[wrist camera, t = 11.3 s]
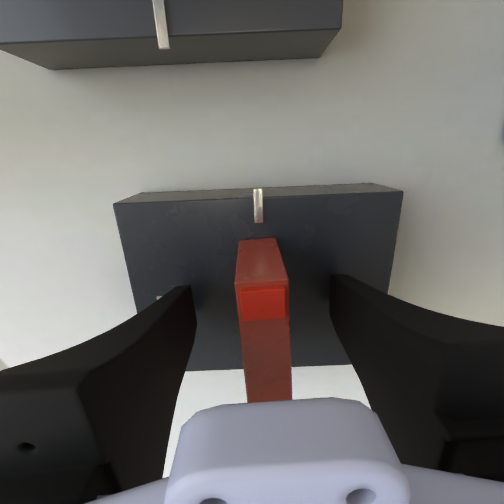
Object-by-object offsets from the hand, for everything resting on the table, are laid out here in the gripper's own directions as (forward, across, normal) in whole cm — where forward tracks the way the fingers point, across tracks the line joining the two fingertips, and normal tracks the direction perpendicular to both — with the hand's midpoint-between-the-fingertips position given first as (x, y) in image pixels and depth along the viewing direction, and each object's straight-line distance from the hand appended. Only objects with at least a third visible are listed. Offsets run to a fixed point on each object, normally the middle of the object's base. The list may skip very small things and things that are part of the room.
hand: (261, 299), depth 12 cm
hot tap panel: (+3, 0, 0) cm, 3 cm away
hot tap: (0, 0, 0) cm, 0 cm away
